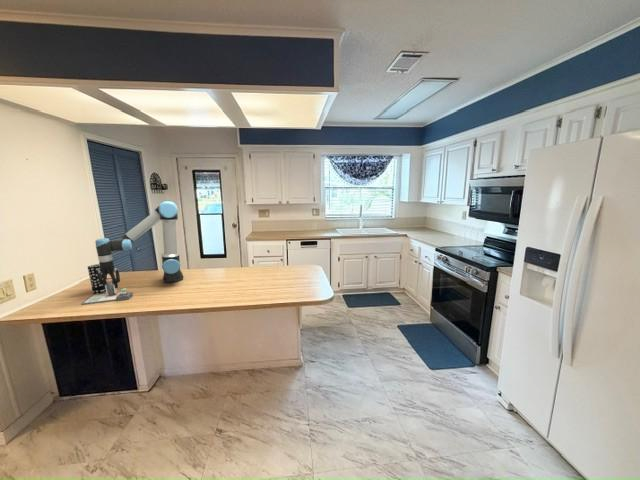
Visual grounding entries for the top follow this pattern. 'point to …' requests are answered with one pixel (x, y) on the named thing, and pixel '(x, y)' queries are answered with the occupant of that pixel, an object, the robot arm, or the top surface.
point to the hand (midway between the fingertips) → (112, 292)
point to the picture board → (100, 298)
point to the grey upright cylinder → (110, 286)
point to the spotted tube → (95, 279)
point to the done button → (123, 291)
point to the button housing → (124, 296)
